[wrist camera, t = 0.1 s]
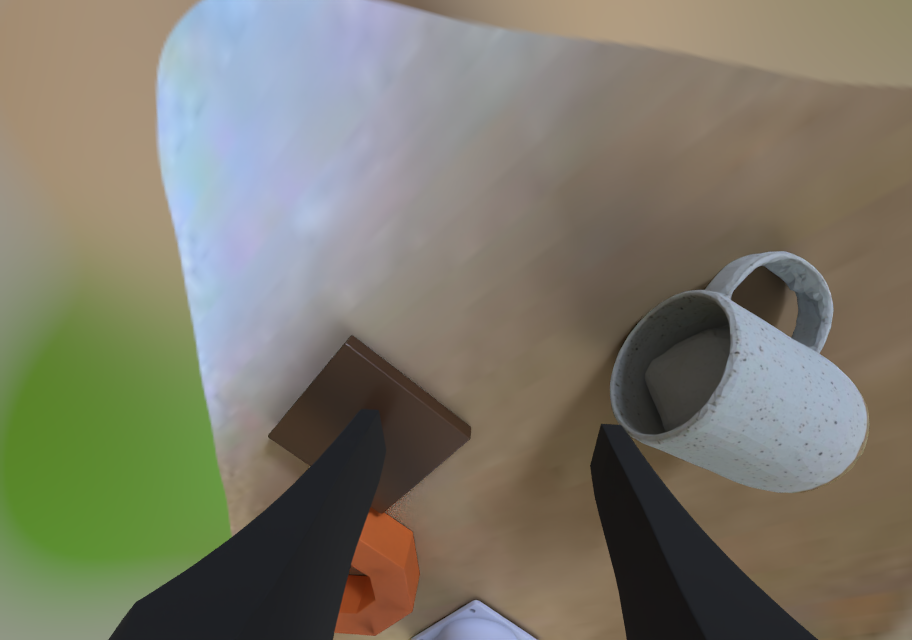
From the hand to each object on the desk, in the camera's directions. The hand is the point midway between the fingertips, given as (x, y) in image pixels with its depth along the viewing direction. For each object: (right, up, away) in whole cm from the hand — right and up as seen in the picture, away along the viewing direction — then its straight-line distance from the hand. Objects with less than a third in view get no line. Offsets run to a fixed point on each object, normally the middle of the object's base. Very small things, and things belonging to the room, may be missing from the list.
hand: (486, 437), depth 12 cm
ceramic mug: (+13, +3, +9) cm, 16 cm away
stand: (-7, -4, +14) cm, 16 cm away
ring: (-10, -15, +19) cm, 27 cm away
